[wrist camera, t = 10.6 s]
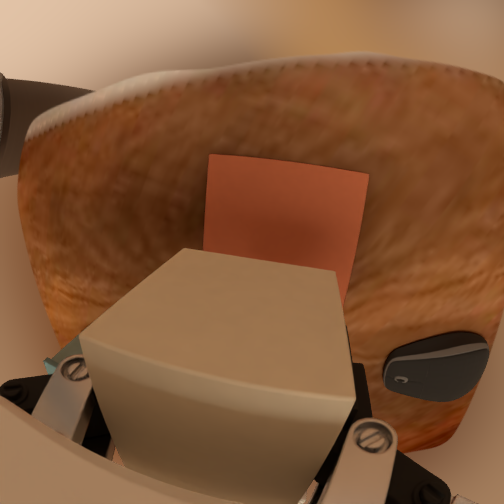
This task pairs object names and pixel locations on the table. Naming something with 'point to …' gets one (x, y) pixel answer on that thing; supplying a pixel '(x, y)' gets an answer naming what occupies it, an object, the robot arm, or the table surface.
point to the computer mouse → (437, 367)
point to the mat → (285, 213)
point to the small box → (225, 375)
